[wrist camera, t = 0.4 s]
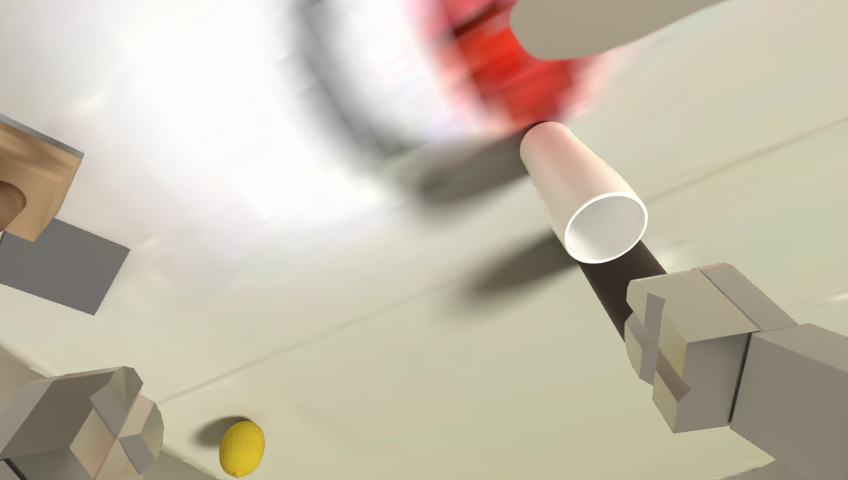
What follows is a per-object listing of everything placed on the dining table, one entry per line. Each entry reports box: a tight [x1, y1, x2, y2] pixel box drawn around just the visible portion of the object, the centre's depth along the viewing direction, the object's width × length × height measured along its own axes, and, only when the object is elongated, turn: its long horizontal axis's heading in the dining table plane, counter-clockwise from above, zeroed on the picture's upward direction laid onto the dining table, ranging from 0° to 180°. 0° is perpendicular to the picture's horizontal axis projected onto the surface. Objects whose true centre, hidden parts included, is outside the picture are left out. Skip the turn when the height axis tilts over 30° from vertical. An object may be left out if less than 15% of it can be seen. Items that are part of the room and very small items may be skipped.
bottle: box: [576, 239, 667, 342], centre depth 51 cm, size 7×7×20 cm
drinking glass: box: [520, 122, 647, 263], centre depth 45 cm, size 7×7×15 cm
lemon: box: [219, 420, 265, 478], centre depth 67 cm, size 6×6×8 cm
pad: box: [0, 218, 130, 315], centre depth 52 cm, size 10×10×1 cm
